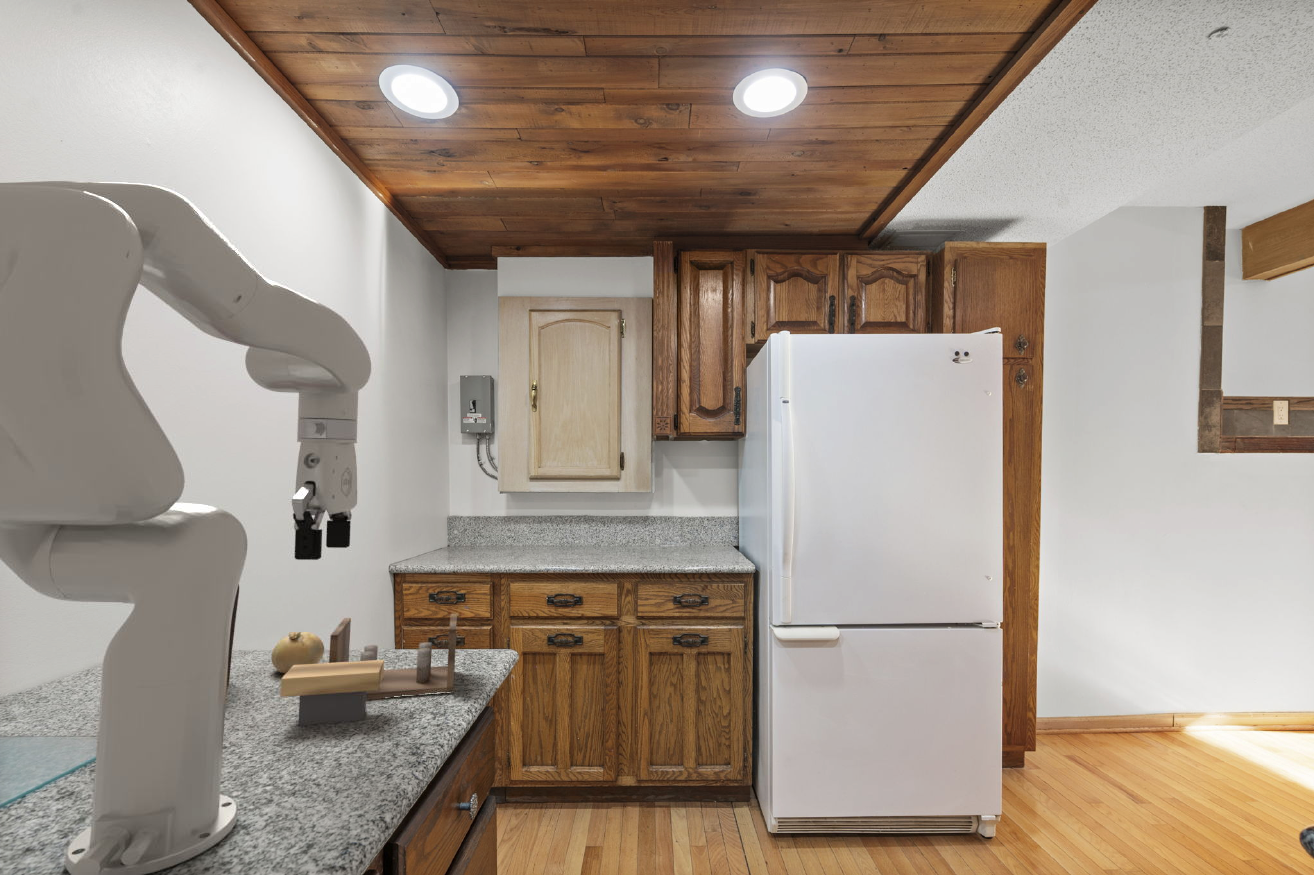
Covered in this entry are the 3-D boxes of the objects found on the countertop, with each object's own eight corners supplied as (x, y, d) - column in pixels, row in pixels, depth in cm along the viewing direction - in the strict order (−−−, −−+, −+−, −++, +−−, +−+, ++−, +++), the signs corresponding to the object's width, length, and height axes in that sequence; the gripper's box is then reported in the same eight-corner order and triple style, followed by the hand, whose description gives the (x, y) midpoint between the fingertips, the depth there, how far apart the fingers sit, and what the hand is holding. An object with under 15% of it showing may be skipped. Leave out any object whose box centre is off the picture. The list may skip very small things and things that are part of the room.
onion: (265, 669, 108) (268, 627, 108) (316, 660, 113) (318, 621, 113) (276, 681, 102) (278, 637, 102) (329, 671, 107) (331, 630, 107)
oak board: (377, 689, 86) (378, 672, 87) (280, 697, 83) (281, 678, 83) (383, 675, 92) (384, 659, 92) (292, 682, 89) (293, 665, 89)
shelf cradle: (453, 693, 98) (455, 629, 99) (326, 702, 93) (330, 635, 93) (454, 671, 109) (456, 613, 109) (341, 678, 103) (344, 618, 104)
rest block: (362, 720, 87) (363, 687, 87) (298, 725, 85) (299, 691, 85) (365, 711, 90) (367, 680, 90) (303, 716, 88) (305, 684, 88)
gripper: (329, 432, 80) (325, 564, 80) (376, 434, 97) (372, 543, 97) (268, 430, 79) (263, 564, 79) (326, 433, 97) (322, 543, 96)
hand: (323, 552), depth 88 cm, fingers open, 9 cm apart
